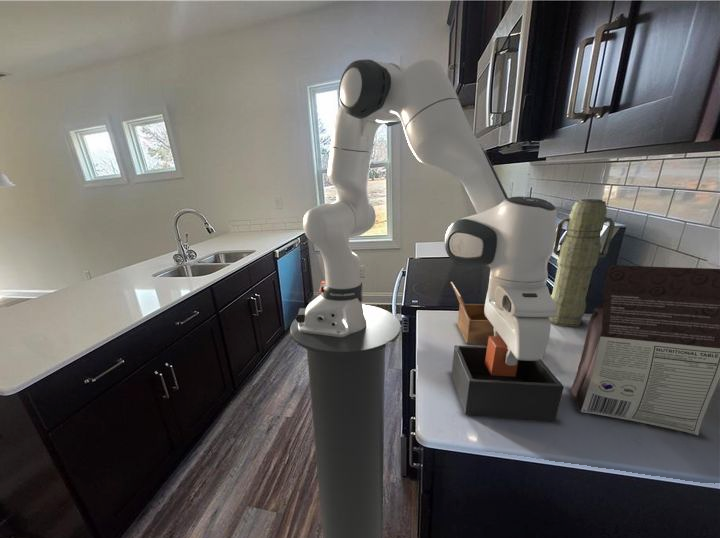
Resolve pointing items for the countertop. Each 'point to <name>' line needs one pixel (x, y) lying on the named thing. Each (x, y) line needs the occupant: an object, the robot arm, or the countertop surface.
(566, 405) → the countertop surface
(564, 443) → the countertop surface
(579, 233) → the thermos
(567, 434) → the countertop surface
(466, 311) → the flap
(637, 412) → the protein powder
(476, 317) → the wooden box
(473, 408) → the basket
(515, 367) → the block
